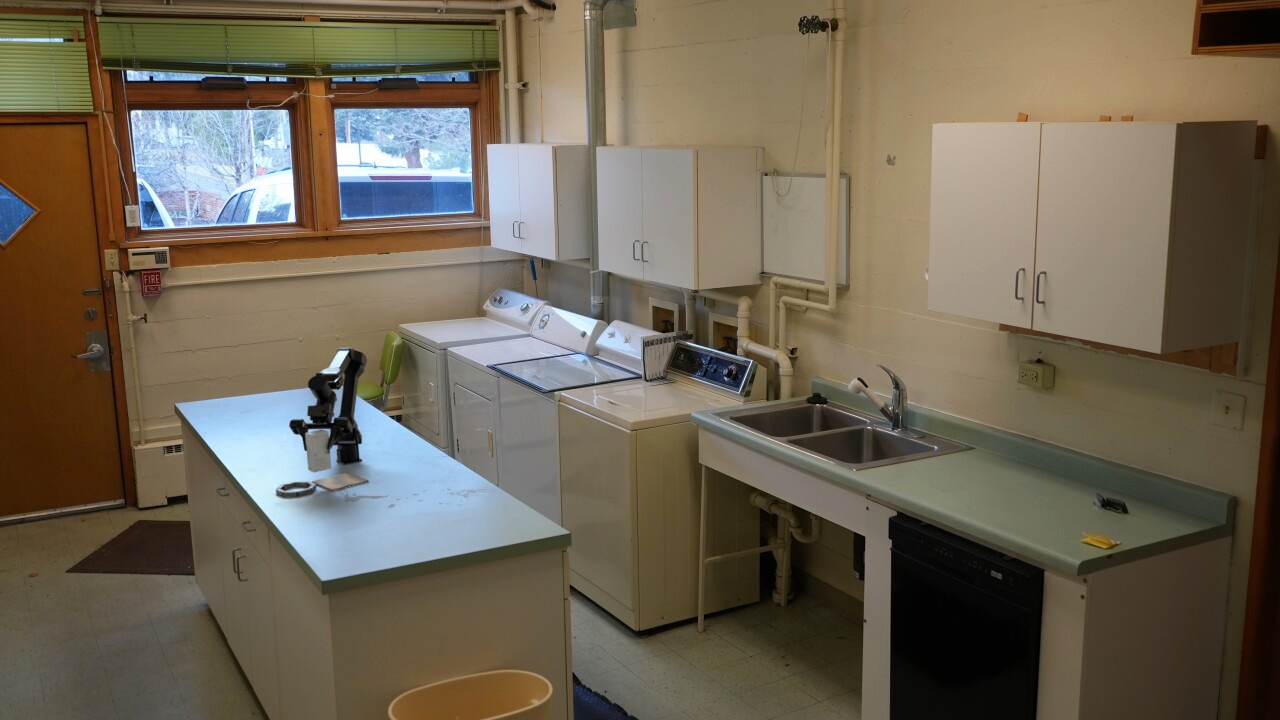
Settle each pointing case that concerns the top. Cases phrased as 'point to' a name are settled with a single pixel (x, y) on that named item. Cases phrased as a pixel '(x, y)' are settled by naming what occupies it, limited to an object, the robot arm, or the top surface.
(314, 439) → the skincare box
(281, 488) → the grey octagonal ring
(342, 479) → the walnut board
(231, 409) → the top surface
